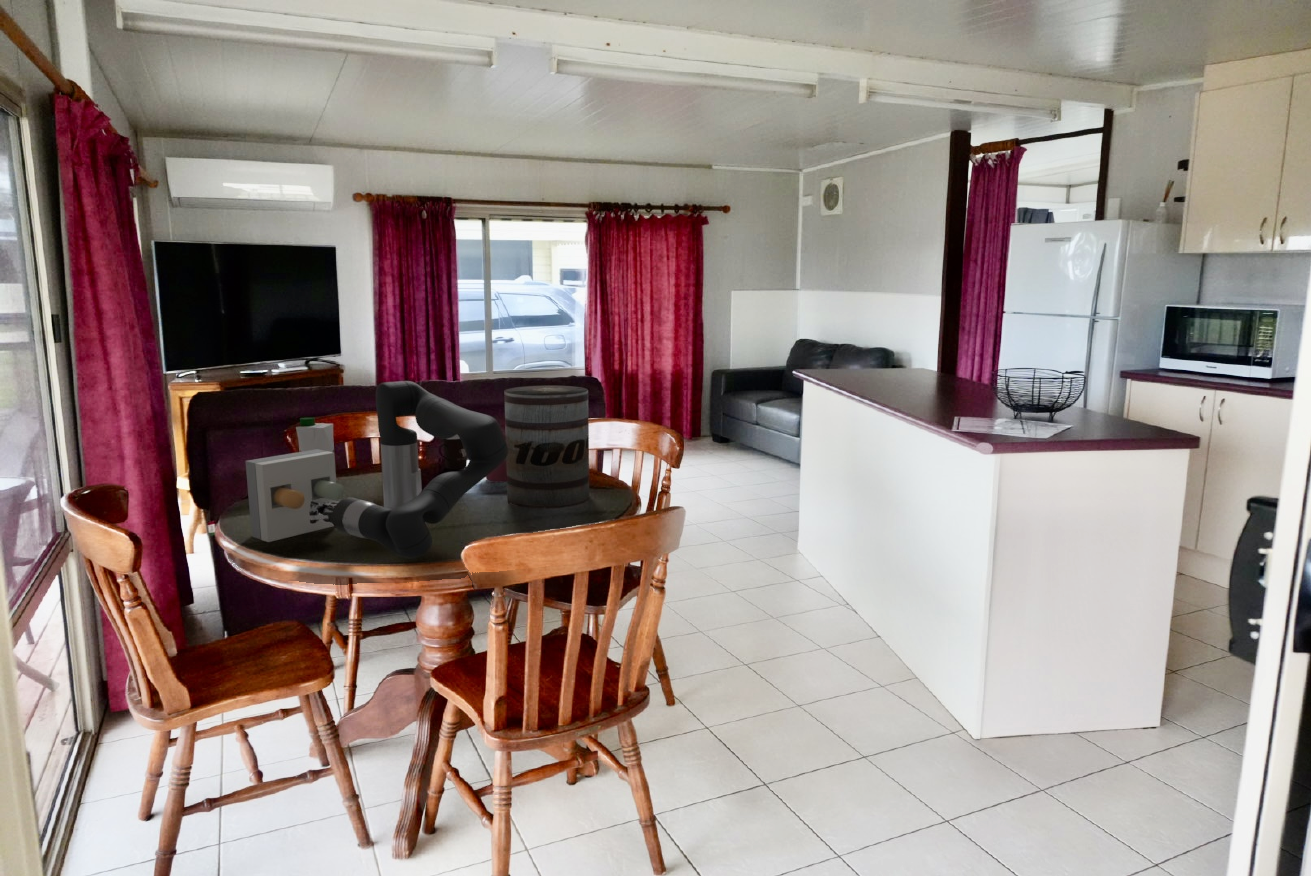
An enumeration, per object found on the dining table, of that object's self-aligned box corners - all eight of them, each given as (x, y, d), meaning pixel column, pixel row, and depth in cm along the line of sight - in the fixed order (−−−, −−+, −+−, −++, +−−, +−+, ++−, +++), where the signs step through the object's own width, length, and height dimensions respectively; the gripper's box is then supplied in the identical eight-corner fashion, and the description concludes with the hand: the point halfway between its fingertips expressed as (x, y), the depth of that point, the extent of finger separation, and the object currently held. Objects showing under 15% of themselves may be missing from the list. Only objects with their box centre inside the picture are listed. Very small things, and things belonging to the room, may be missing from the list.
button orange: (305, 507, 193) (303, 489, 193) (288, 510, 190) (287, 493, 189) (290, 503, 197) (289, 486, 196) (274, 506, 194) (273, 489, 193)
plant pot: (470, 477, 260) (469, 436, 258) (513, 472, 267) (512, 432, 265) (488, 486, 248) (487, 443, 246) (532, 480, 256) (531, 439, 253)
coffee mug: (462, 463, 280) (461, 433, 279) (474, 467, 274) (473, 437, 272) (429, 467, 273) (427, 437, 271) (441, 472, 267) (439, 441, 265)
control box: (338, 524, 208) (334, 452, 205) (268, 542, 194) (262, 464, 191) (322, 519, 212) (317, 449, 209) (251, 536, 198) (245, 460, 195)
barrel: (546, 513, 219) (543, 397, 214) (490, 499, 234) (486, 390, 228) (606, 497, 236) (605, 389, 231) (550, 484, 251) (548, 383, 245)
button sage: (344, 498, 201) (343, 482, 200) (329, 501, 198) (327, 485, 197) (329, 494, 205) (328, 478, 204) (314, 497, 202) (313, 481, 201)
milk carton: (310, 482, 253) (305, 415, 249) (340, 482, 252) (336, 416, 249) (297, 489, 244) (292, 420, 241) (328, 489, 244) (323, 420, 240)
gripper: (386, 494, 181) (339, 483, 192) (330, 507, 171) (284, 494, 181) (388, 528, 183) (341, 515, 193) (332, 543, 172) (286, 528, 183)
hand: (313, 505), depth 187 cm, fingers closed
